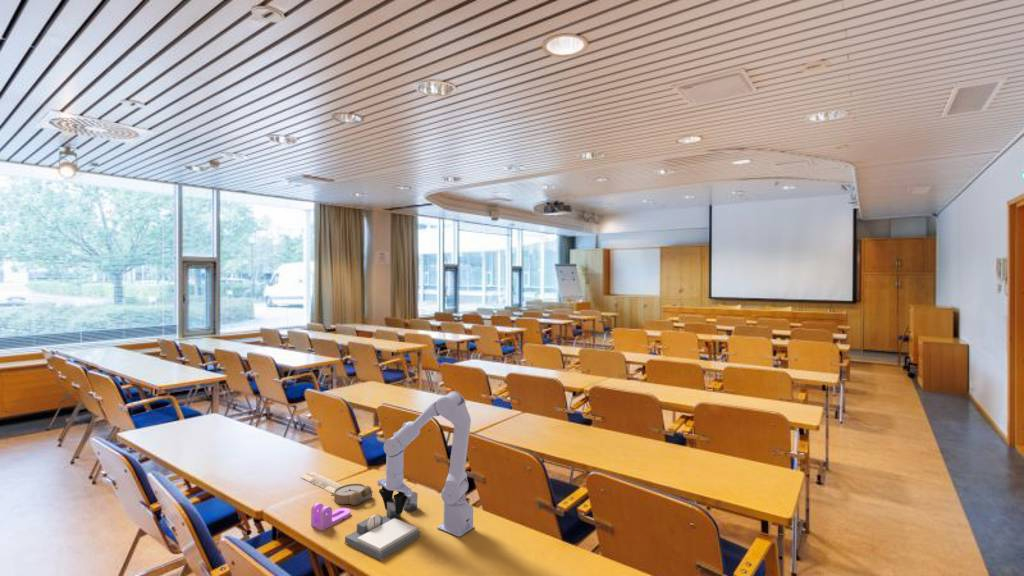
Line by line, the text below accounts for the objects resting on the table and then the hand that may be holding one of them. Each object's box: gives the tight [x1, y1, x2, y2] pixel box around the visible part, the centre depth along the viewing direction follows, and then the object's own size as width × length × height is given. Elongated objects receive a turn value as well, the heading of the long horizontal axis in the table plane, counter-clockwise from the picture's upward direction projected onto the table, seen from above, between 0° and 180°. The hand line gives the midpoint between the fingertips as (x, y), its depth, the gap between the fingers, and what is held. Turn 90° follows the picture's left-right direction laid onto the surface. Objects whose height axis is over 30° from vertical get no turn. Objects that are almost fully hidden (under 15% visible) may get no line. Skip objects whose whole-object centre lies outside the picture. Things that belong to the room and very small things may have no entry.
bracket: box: [310, 502, 351, 531], centre depth 164 cm, size 13×6×7 cm, turn 150°
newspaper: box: [300, 471, 343, 494], centre depth 192 cm, size 24×7×2 cm, turn 53°
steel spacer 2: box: [403, 491, 418, 513], centre depth 173 cm, size 5×5×5 cm
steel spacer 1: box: [386, 497, 402, 519], centre depth 167 cm, size 5×5×5 cm
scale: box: [344, 513, 421, 561], centre depth 152 cm, size 16×16×6 cm
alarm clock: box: [330, 483, 374, 506], centre depth 179 cm, size 11×5×15 cm
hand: (393, 511), depth 167 cm, fingers closed on steel spacer 1, 5 cm apart
